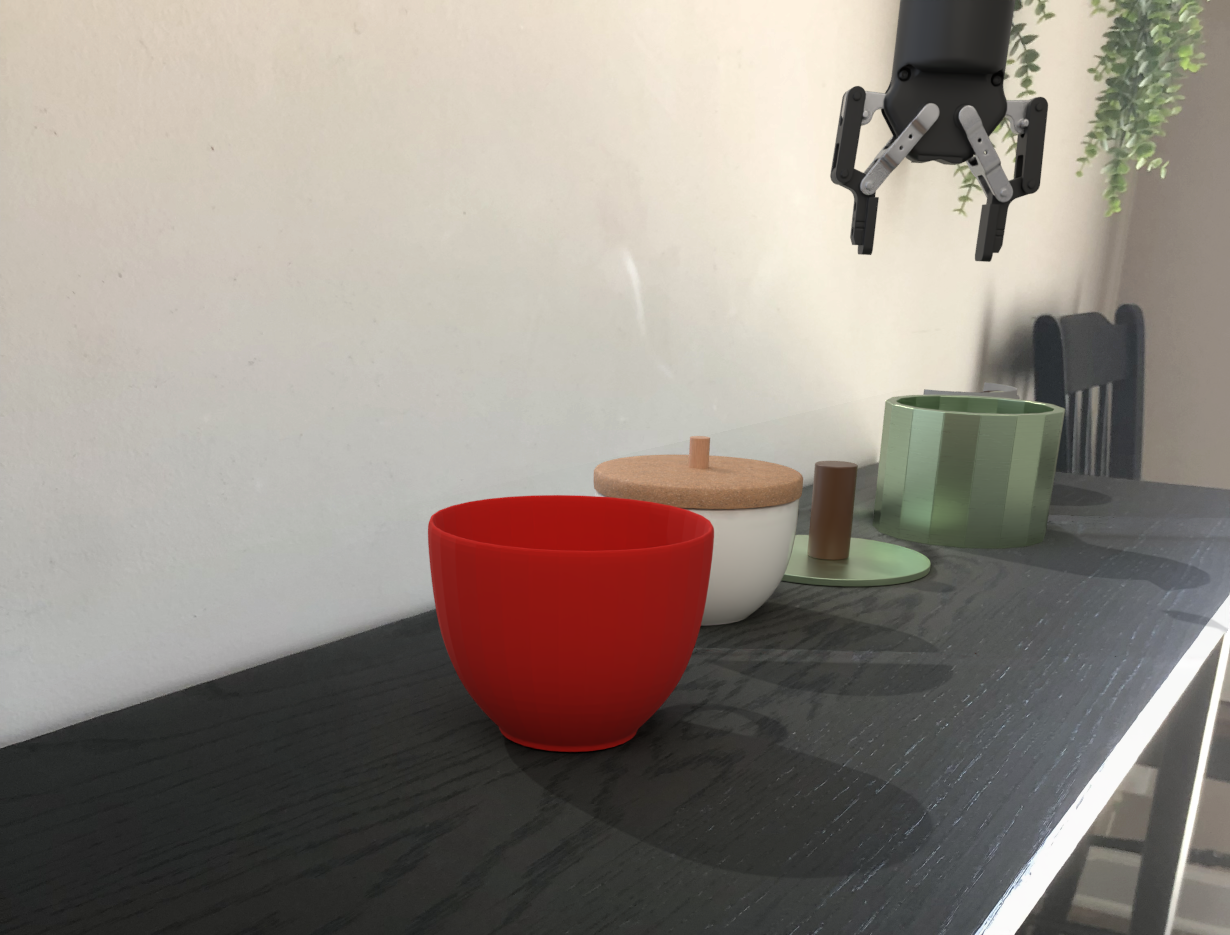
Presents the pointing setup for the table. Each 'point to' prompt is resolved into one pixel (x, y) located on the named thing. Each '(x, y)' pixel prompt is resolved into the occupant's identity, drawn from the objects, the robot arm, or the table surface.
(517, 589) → the ceramic cup
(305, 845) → the table surface
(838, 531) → the lid
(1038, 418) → the tin
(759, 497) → the lidded bowl
